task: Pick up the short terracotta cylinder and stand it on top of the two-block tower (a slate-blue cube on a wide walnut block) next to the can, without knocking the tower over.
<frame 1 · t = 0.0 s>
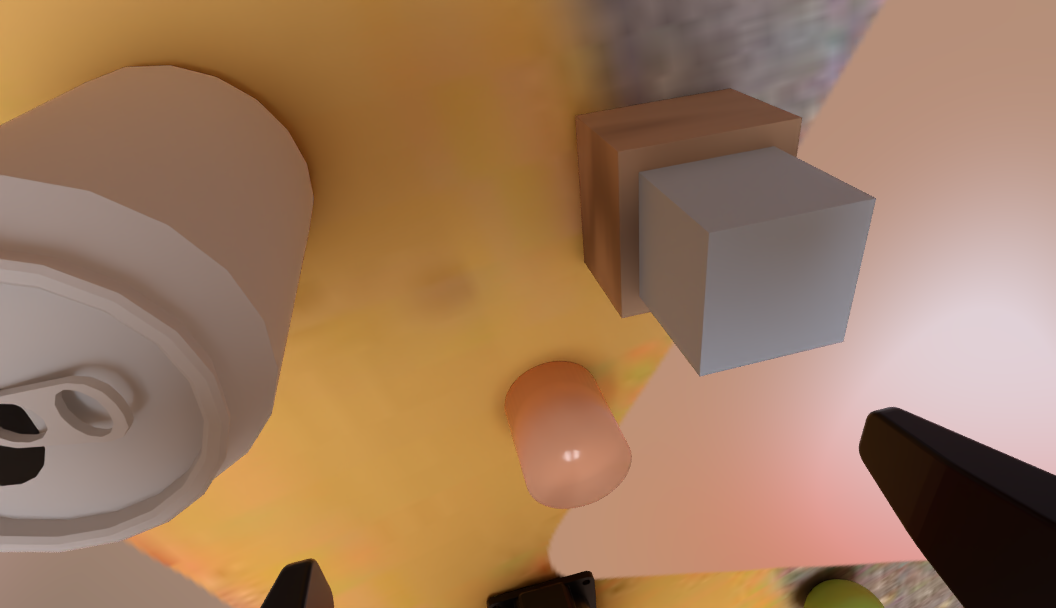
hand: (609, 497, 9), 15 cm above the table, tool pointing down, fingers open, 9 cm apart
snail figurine: (813, 585, 43), on the table
terracotta cylinder: (551, 399, 28), on the table
can: (196, 179, 19), on the table
slate cube: (703, 224, 19), point 4 cm above the table
walnut base block: (652, 178, 23), on the table
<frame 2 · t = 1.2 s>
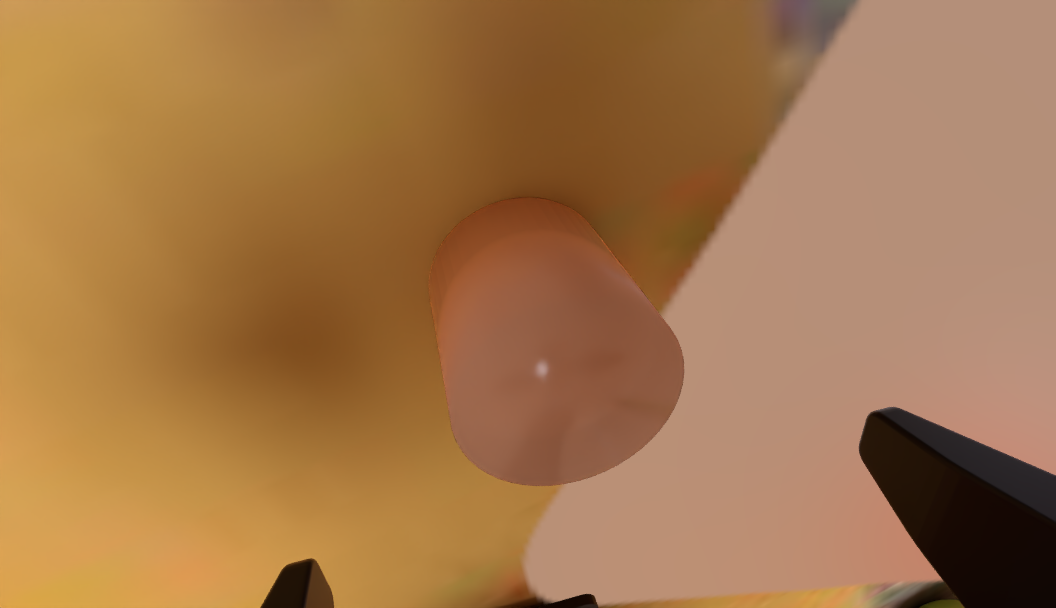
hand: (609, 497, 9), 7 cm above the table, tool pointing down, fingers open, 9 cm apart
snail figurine: (911, 607, 30), on the table
terracotta cylinder: (519, 282, 15), on the table
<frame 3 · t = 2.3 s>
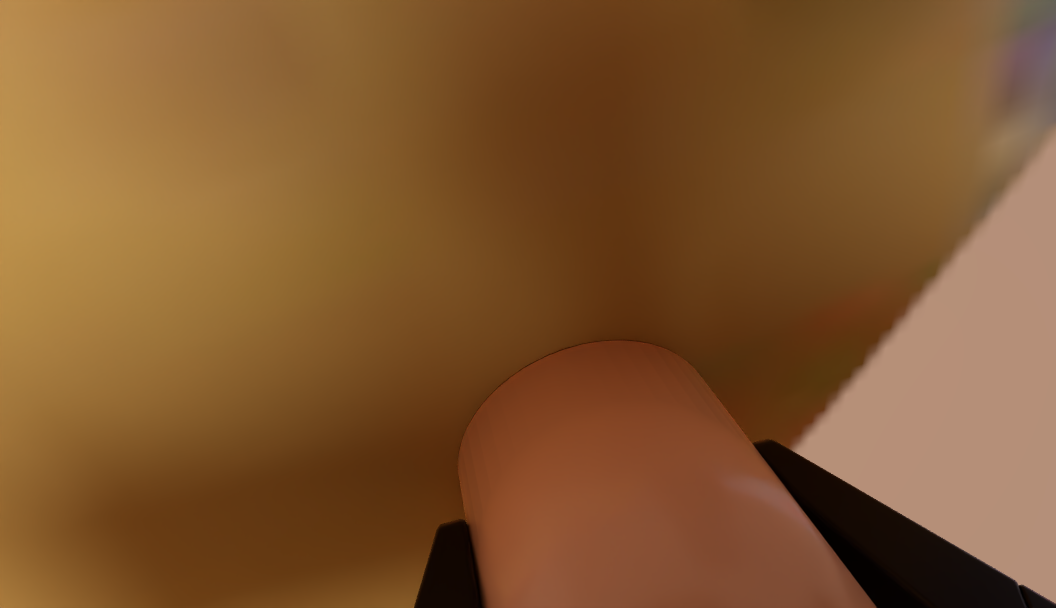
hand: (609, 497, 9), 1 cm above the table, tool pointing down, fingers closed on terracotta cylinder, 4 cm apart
terracotta cylinder: (589, 449, 10), on the table, touching gripper
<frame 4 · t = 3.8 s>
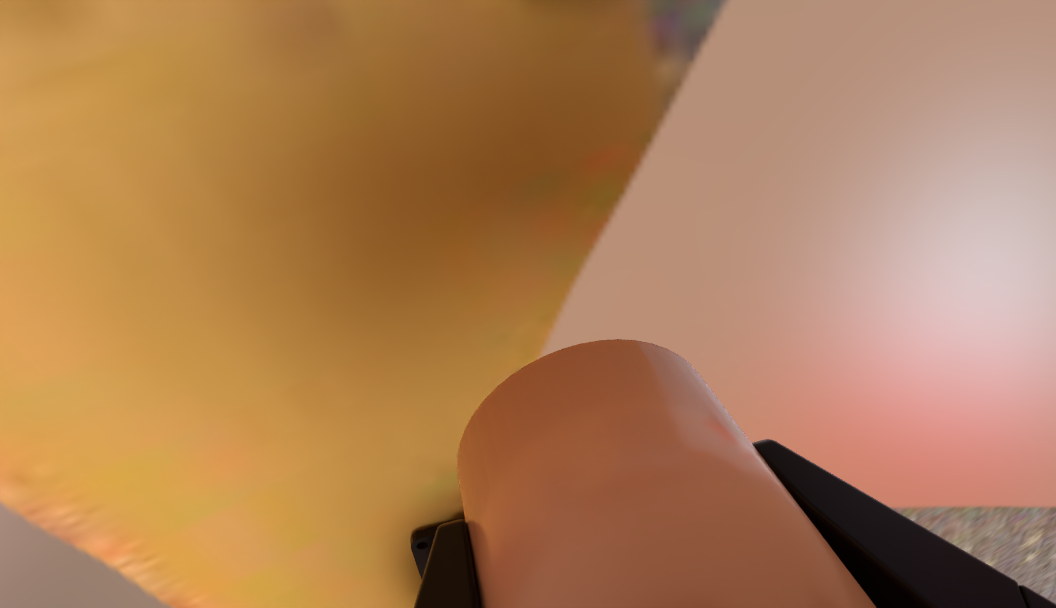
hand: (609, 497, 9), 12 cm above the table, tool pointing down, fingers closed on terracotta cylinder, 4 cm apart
terracotta cylinder: (588, 448, 10), point 11 cm above the table, touching gripper
when the fingers open (11 cm above the table, at t = 5.1 s): terracotta cylinder drops 1 cm, resting on slate cube.
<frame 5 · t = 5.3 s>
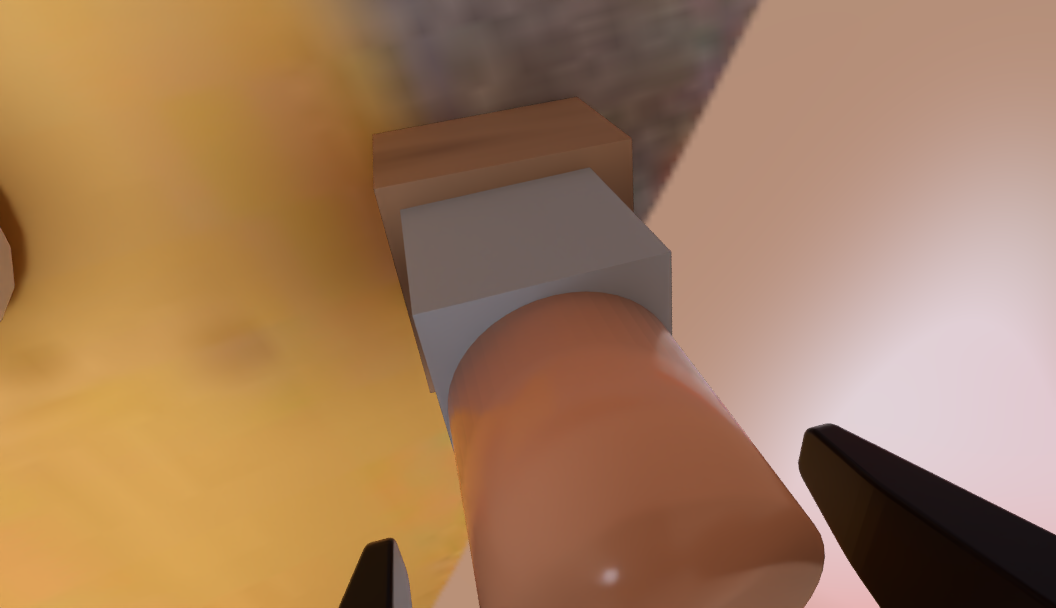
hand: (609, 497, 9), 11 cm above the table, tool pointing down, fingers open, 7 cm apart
terracotta cylinder: (565, 393, 11), point 9 cm above the table, touching slate cube
slate cube: (511, 271, 15), point 4 cm above the table, touching terracotta cylinder
walnut base block: (492, 209, 19), on the table
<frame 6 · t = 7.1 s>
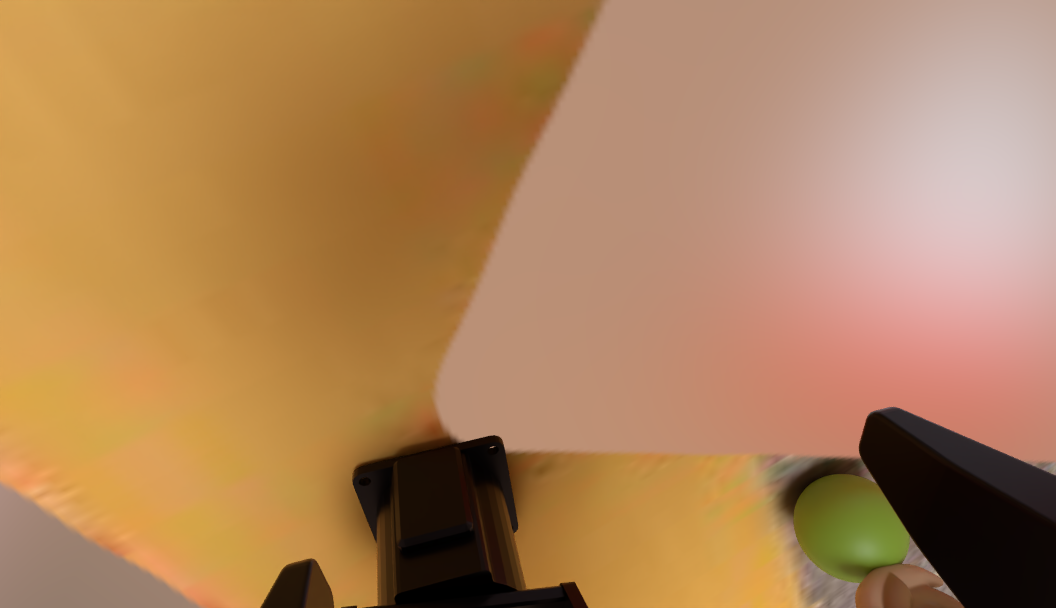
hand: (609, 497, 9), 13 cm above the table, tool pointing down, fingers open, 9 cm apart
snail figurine: (807, 485, 34), on the table
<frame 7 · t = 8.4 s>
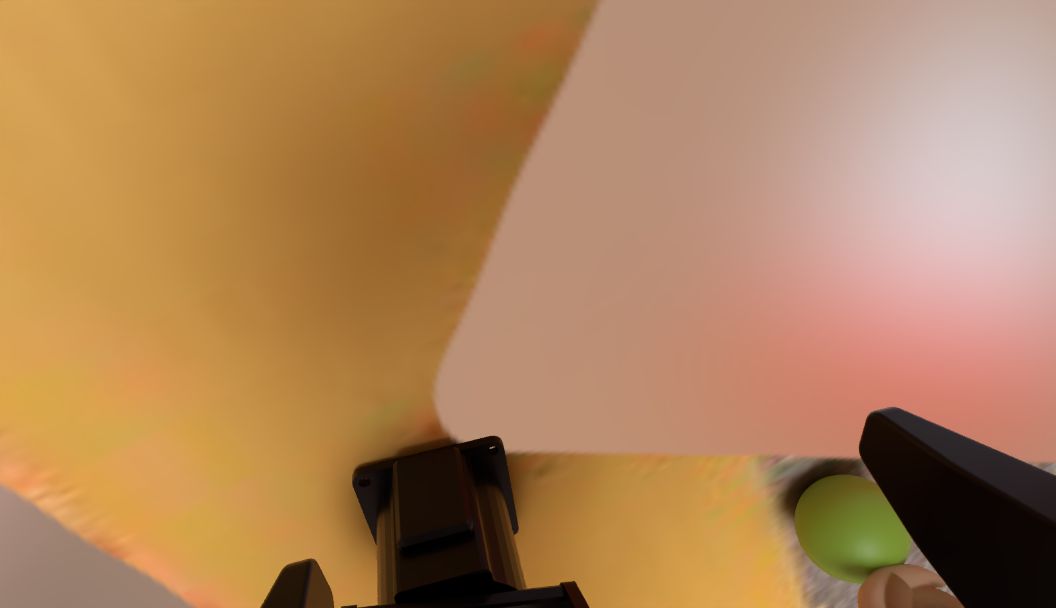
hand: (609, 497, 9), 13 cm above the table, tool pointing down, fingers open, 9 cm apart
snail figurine: (808, 486, 34), on the table
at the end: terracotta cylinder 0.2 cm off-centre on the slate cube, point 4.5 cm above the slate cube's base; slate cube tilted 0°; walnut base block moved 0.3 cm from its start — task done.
